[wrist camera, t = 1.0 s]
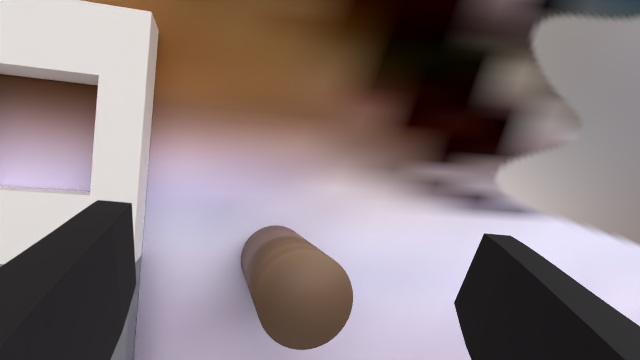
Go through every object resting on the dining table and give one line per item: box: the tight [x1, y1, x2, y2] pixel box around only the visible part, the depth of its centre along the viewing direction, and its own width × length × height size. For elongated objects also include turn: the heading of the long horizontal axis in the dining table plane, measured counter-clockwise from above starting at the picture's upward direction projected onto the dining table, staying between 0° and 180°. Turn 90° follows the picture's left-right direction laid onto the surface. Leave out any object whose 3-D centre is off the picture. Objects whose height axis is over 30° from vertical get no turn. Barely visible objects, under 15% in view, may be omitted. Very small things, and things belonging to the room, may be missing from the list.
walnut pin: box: [241, 226, 353, 350], centre depth 18 cm, size 3×3×7 cm
